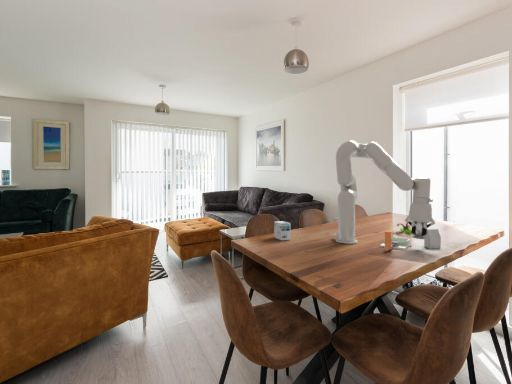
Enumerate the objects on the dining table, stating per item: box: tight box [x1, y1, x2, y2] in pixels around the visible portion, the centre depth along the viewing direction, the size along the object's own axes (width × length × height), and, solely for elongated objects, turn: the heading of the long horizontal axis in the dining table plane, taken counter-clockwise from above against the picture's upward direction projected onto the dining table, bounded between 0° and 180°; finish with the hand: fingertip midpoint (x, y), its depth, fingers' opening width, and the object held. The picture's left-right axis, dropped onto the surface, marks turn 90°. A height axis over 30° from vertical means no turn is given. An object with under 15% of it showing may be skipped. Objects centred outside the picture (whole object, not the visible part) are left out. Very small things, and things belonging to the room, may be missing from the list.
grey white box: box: [423, 228, 442, 249], centre depth 144 cm, size 4×7×10 cm, turn 100°
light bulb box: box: [273, 220, 292, 241], centre depth 167 cm, size 11×7×11 cm, turn 22°
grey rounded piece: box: [412, 222, 425, 240], centre depth 140 cm, size 6×6×9 cm
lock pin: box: [384, 230, 395, 251], centre depth 140 cm, size 3×14×9 cm, turn 139°
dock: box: [379, 236, 411, 251], centre depth 147 cm, size 12×16×4 cm
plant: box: [393, 220, 415, 238], centre depth 172 cm, size 20×20×11 cm
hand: (418, 234), depth 140 cm, fingers closed on grey rounded piece, 4 cm apart
